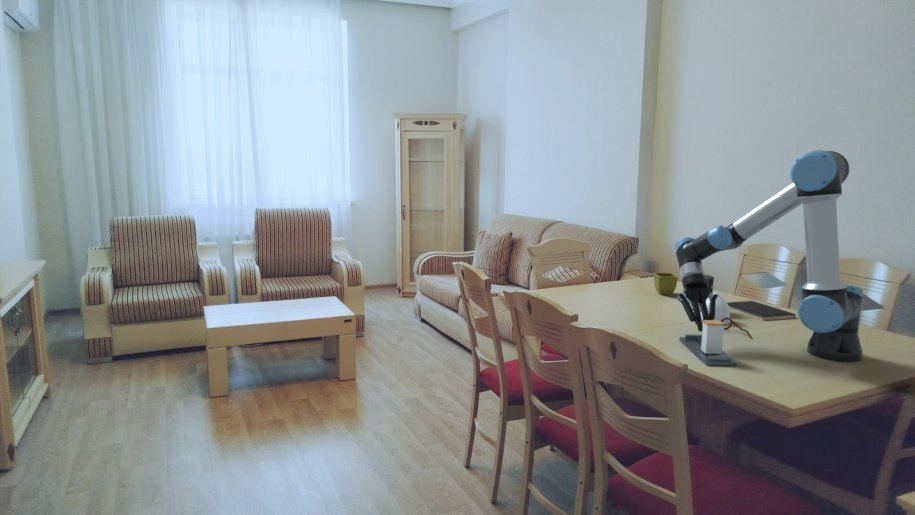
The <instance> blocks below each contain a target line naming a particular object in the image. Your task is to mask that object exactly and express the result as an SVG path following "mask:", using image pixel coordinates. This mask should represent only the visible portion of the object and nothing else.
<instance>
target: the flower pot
mask: <svg viewBox="0 0 915 515" xmlns="http://www.w3.org/2000/svg"><path fill="white" fill-rule="evenodd" d="M678 279H679V277H678V276H677V275H676V274H674V273H672V272H653V284H654V287H655V290H656V292H657V293H659V295H673V294H674V292H675V290H676V288H677V283H678Z"/></svg>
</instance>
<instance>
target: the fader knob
mask: <svg viewBox="0 0 915 515" xmlns="http://www.w3.org/2000/svg"><path fill="white" fill-rule="evenodd" d="M724 328H725V324H724V323H723V322H721V321H720V320H703V330H702V333H701V335H702V343H701V350H702V351H703V352H704V353H705V354H722V351H723V345H724V344H723V342H724V331H725V329H724Z"/></svg>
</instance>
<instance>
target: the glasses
mask: <svg viewBox="0 0 915 515" xmlns="http://www.w3.org/2000/svg"><path fill="white" fill-rule="evenodd" d="M726 319H729V320H730V323H729V325H728V326H727V327H724V330H729V329H730V328H731V327H732V325H733V326H735V327H736V328H738V329H739V330H741V331H743V332H745V333H746V334H747V336H748V337H749V339H751V340H752V339H753V340H754V338H753V337H752V335H751V334H750V333H749V331H748V330H746V329H744V328H742V327H741V326H739V325H738V324H737V323H736V322H734V321H733V319H732V318H731V317H730V318H724V319H722V320H721V322H723V321H724V320H726ZM702 320H703V319H702Z"/></svg>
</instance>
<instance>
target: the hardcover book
mask: <svg viewBox="0 0 915 515" xmlns="http://www.w3.org/2000/svg"><path fill="white" fill-rule="evenodd" d="M726 302H727V301H726ZM727 304H728V305H729V308H730V310H731V309H732V310H731V311H734V310H735V311H734V312H737V313H739V312H740V313H739V314H742V313H743V315H745V314H746V315H745V316H748V315H749V316H748V317H751V316H753V317H752V318H754V317H755V319H757V318H758V319H757V320H760V319H761V320H760V321H773V320H785V319H796V318H797V317H796V316H797V315H796V313H793V312H790V311H787V310H783V309H780V308H777V307H774V306H771V305H767V304H765V303H761V302H758V301H755V300H746V301H730V302H727Z"/></svg>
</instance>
